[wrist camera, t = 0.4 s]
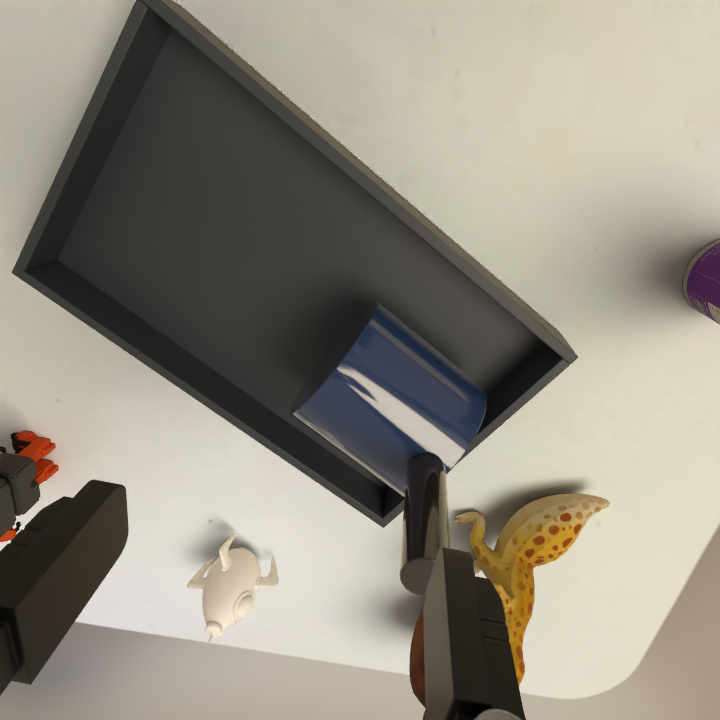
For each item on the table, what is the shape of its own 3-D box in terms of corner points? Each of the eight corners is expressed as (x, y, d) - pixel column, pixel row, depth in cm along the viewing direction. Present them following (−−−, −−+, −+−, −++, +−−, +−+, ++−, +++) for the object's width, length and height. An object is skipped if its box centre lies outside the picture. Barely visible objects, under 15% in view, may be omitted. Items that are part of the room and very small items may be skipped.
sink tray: (179, 4, 26) (142, -16, 22) (560, 332, 31) (578, 357, 28) (53, 257, 32) (11, 272, 29) (386, 492, 38) (383, 528, 34)
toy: (387, 580, 37) (452, 704, 28) (526, 431, 37) (635, 509, 28) (439, 612, 40) (512, 735, 31) (567, 475, 40) (678, 558, 31)
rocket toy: (287, 553, 41) (262, 642, 34) (253, 586, 43) (222, 676, 36) (233, 519, 40) (195, 604, 33) (201, 555, 42) (158, 642, 35)
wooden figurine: (490, 590, 41) (529, 818, 27) (489, 637, 43) (524, 868, 30) (408, 588, 42) (406, 809, 28) (411, 635, 44) (411, 858, 30)
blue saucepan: (223, 535, 19) (381, 641, 21) (346, 403, 16) (522, 537, 18) (307, 374, 33) (399, 444, 34) (383, 285, 30) (480, 365, 31)
